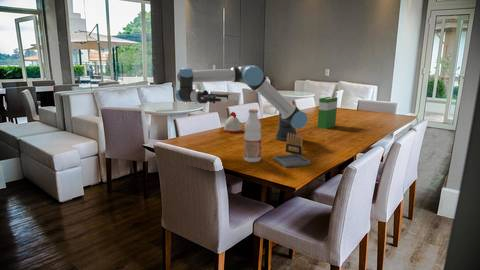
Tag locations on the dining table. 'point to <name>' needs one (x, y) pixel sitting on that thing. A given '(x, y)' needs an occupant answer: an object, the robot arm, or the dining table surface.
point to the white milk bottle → (252, 138)
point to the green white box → (327, 112)
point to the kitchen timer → (232, 124)
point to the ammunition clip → (294, 144)
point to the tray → (291, 160)
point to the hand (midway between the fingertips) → (232, 99)
